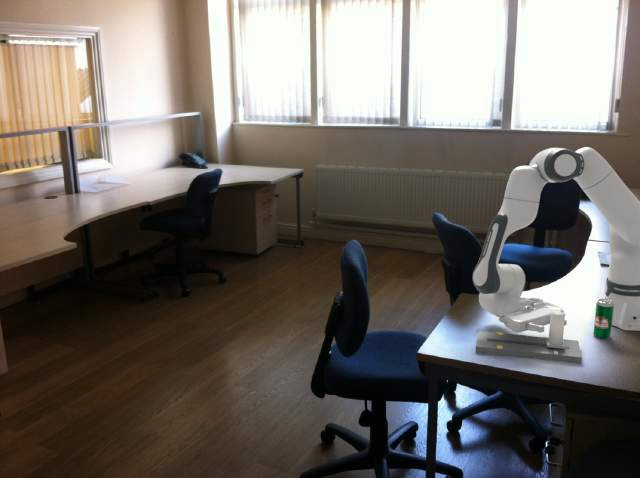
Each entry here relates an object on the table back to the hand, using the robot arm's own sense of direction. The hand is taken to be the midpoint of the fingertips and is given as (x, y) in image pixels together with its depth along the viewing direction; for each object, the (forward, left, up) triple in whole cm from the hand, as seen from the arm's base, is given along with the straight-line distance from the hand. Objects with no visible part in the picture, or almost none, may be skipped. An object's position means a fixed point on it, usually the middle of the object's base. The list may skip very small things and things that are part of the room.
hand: (554, 326), depth 191 cm
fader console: (+7, +1, -8) cm, 11 cm away
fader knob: (-1, +1, -5) cm, 5 cm away
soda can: (-16, -15, -8) cm, 23 cm away
